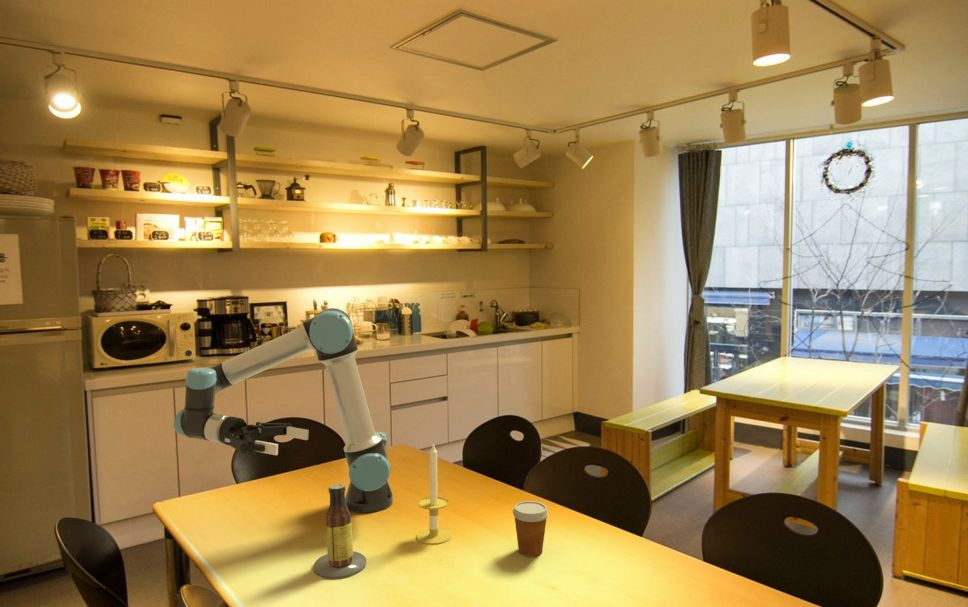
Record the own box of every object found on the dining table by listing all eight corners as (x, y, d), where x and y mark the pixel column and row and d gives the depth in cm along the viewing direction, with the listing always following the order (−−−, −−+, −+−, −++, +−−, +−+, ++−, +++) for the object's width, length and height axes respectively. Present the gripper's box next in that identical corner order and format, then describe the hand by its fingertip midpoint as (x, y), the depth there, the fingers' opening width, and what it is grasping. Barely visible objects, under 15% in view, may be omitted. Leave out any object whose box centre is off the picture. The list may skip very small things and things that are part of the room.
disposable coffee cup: (524, 562, 155) (524, 517, 154) (506, 547, 164) (506, 504, 163) (555, 554, 159) (555, 510, 159) (535, 540, 168) (536, 498, 167)
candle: (458, 533, 172) (457, 440, 171) (439, 547, 164) (438, 449, 162) (428, 526, 177) (428, 435, 176) (409, 539, 168) (408, 444, 167)
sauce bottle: (357, 558, 156) (356, 483, 154) (344, 570, 150) (343, 491, 149) (335, 555, 158) (334, 480, 157) (321, 566, 152) (320, 488, 151)
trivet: (353, 549, 163) (353, 546, 163) (374, 568, 152) (374, 565, 152) (306, 563, 155) (305, 560, 155) (325, 584, 145) (325, 581, 145)
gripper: (256, 430, 179) (318, 442, 173) (192, 457, 155) (262, 471, 149) (256, 406, 178) (319, 416, 172) (193, 428, 155) (263, 442, 148)
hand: (293, 442), depth 161 cm, fingers open, 13 cm apart
